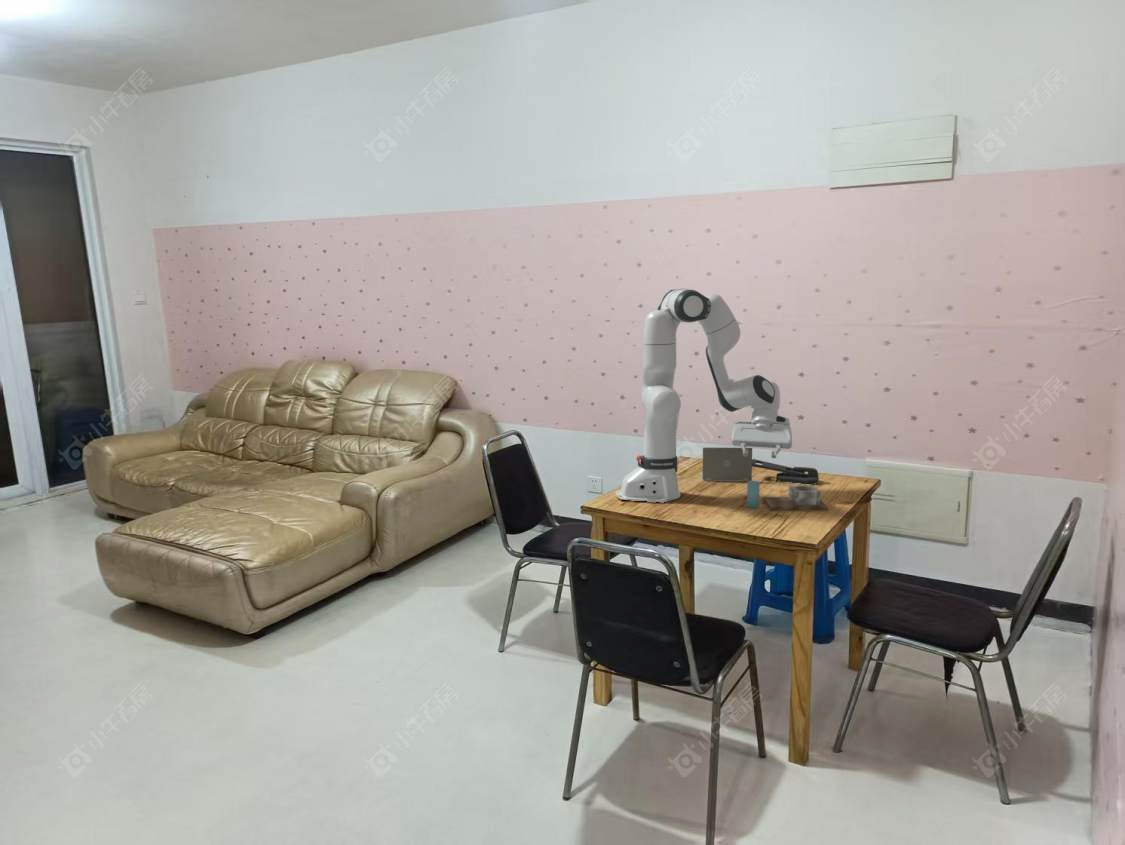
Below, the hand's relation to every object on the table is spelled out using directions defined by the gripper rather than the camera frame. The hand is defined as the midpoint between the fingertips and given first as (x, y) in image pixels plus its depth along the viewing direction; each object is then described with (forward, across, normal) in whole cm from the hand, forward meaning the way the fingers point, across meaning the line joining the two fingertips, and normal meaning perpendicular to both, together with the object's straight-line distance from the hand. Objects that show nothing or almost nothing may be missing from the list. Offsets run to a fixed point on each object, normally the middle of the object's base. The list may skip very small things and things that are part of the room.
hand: (759, 456), depth 258 cm
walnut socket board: (+14, +12, +6) cm, 20 cm away
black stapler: (-9, +5, +30) cm, 32 cm away
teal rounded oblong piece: (+19, 0, +2) cm, 19 cm away
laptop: (-7, -16, +29) cm, 34 cm away
